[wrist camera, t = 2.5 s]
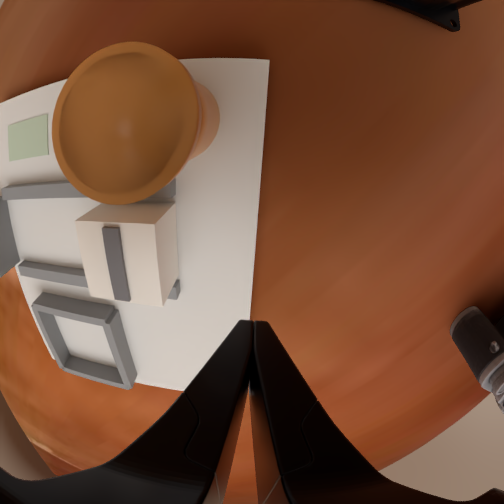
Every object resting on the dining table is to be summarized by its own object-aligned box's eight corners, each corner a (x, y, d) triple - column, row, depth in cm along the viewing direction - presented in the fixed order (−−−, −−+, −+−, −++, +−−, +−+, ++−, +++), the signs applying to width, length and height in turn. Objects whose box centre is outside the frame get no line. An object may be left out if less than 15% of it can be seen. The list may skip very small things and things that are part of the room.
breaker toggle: (175, 202, 13) (152, 226, 10) (178, 273, 15) (161, 309, 12) (105, 200, 13) (72, 222, 10) (114, 267, 15) (89, 298, 12)
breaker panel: (268, 65, 11) (271, 46, 8) (243, 385, 21) (241, 422, 18) (5, 104, 11) (-31, 110, 8) (58, 350, 21) (41, 376, 18)
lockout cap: (229, 72, 10) (203, 32, 5) (223, 169, 13) (194, 207, 7) (134, 77, 10) (55, 60, 5) (132, 168, 13) (57, 204, 7)
